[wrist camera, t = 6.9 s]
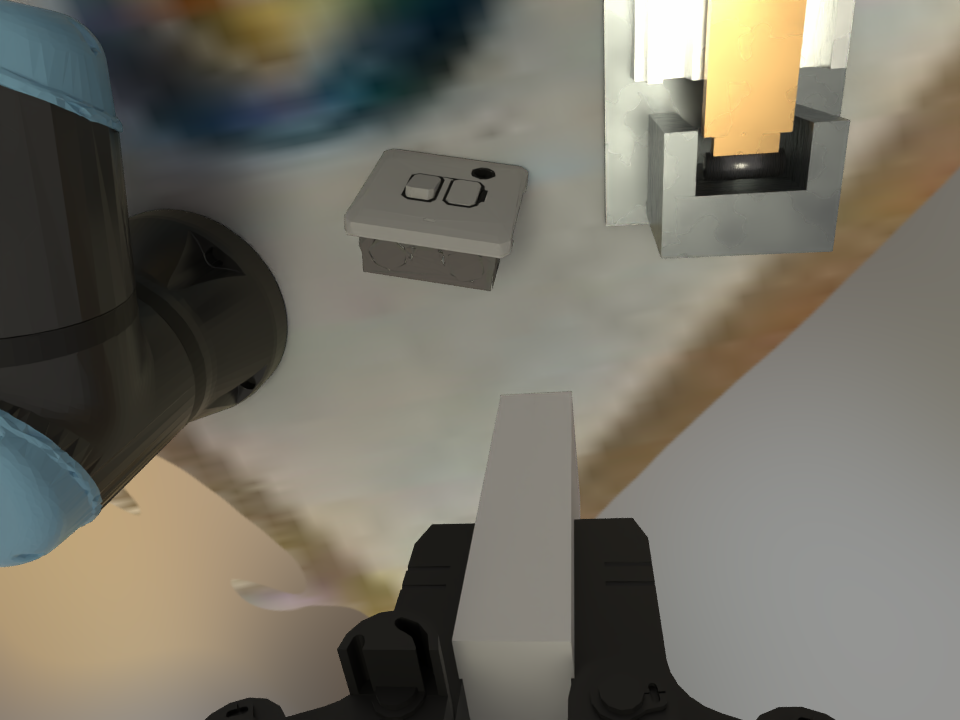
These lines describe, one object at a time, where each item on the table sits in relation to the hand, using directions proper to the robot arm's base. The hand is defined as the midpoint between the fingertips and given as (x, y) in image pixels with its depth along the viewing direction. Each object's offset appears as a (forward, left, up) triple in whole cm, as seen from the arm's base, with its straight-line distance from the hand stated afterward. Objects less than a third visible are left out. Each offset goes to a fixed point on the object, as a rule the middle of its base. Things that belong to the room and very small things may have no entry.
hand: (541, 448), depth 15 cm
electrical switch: (-7, -1, -32) cm, 32 cm away
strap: (+9, +9, -24) cm, 27 cm away
